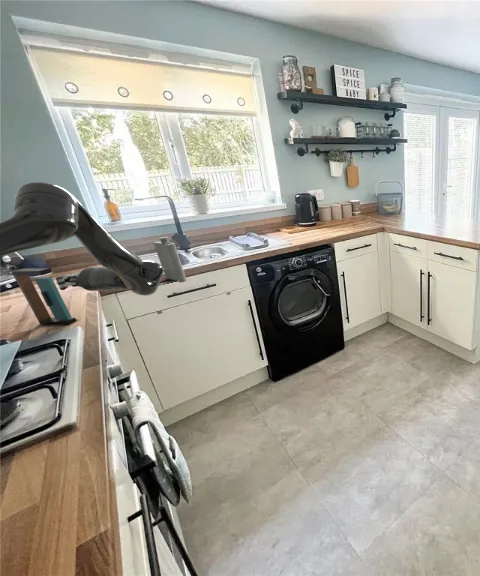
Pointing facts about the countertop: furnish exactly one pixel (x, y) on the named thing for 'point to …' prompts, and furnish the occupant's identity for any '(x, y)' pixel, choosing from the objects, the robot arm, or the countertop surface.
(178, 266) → the hip flask
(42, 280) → the door
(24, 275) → the door frame
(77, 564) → the countertop surface
